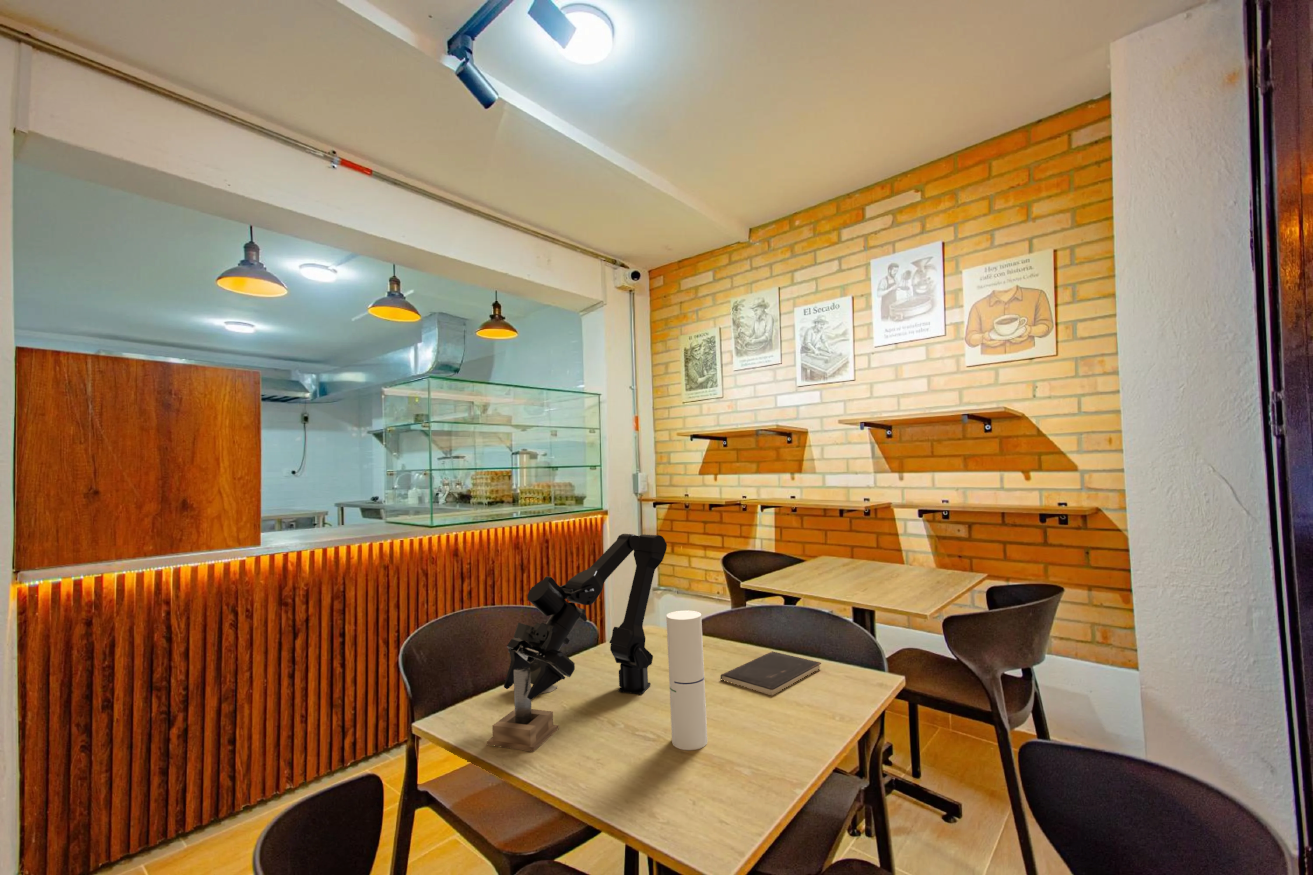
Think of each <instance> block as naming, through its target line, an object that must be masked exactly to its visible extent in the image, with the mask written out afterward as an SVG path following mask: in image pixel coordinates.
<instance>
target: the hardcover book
mask: <svg viewBox="0 0 1313 875" xmlns="http://www.w3.org/2000/svg"><path fill="white" fill-rule="evenodd" d="M821 664H822V662H820V661H815V660H811V659H808V658H802V657H799V656H794V655H790V654H786V653H785V654H784V653H780V652H777V651H770V652H767V653H766V654H763V655H761V656H758V657H757V658H754V659H753V660H749V661H748V662H745V663H743V664H741V665H738V666H737V667H734V668H732V669H730V670H728V671H726V672H724V673H721V674H720V680H721V679H722V680H725V681H728V682H727V683H729V682H732V683H734V684H733V685H735V684H737V685H736V686H739V685H741V686H740V687H742V686H744V687H743V688H745V687H747V688H746V689H749V690H752V689H753V691H755V690H756V692H759V693H762V694H765V695H769V696H774V695H776V694H777V693H779V692H781V691H783V690H785V689H787V688H788V686H789V685H790V686H792V685H794V684H795V683H794V682H796V681H798V680H799V681H801V680H803V679H805V678H806V677H805V676H807V675H808V676H810V675H812V674H814V673H815V672H814V671H816V672H817V671H819V670H821V669H820V668H821V666H820V665H821ZM818 669H819V670H818ZM813 672H814V673H813ZM811 673H812V674H811ZM808 676H807V677H808ZM804 677H805V678H804ZM802 678H803V679H802ZM800 679H801V680H800ZM725 681H724V682H725ZM799 681H798V682H799ZM732 683H731V684H732ZM793 683H794V684H793ZM796 683H797V682H796ZM791 684H792V685H791ZM790 686H789V687H790ZM786 687H787V688H786ZM784 688H785V689H784ZM782 689H783V690H782Z"/></svg>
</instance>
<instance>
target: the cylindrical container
mask: <svg viewBox="0 0 1313 875" xmlns="http://www.w3.org/2000/svg"><path fill="white" fill-rule="evenodd" d="M702 622H703V621H702V613H701V612H699V611H696V610H677V611H671V612H668V613H666V635H667V636H666V637H667V657H668V658H667V659H668V662H667V664H668V679H669V680H668V681H669V685H668V686H669V705H670V724H671V725H670V726H671V727H670V729H671V742H672V743H671V744H672V745H673V747H675V748H677V749H680V750H683V751H696V750H700V749H702V748H703V747H705V746H707V745H708V727H707V726H708V724H707V706H706V703H707V701H706V684H705V683H706V682H705V664H704V661H705V660H704V645H703V644H704V643H703V625H702V624H703V623H702Z"/></svg>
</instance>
